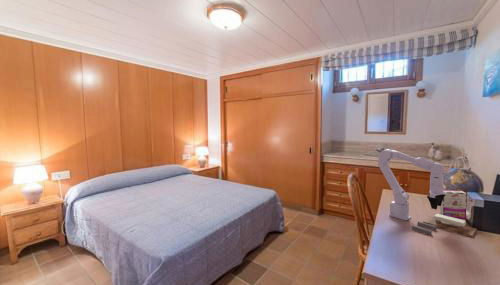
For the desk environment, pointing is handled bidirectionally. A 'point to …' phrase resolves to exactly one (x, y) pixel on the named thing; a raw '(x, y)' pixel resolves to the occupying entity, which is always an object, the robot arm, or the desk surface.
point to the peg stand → (451, 227)
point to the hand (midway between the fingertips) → (436, 207)
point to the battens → (423, 228)
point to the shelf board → (450, 220)
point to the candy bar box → (454, 204)
